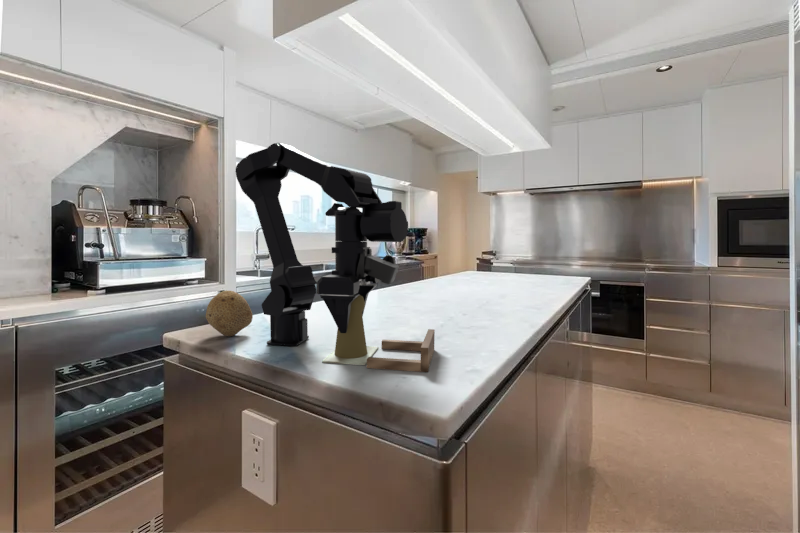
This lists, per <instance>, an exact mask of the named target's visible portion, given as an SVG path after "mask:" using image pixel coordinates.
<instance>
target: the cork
mask: <svg viewBox="0 0 800 533" xmlns="http://www.w3.org/2000/svg"><path fill="white" fill-rule="evenodd" d="M364 307H365V308H366V305H365V301H364V298H363V296H361V295H359V296H358V297H357V298H356V299H355V300H354V301H353V302H352V303H351V309H350V316H349V323H348V329H347V333H340V331H339V329H338V328H337V331H336V332H337V333H336V341H335V349H334V350H335V356H337V357H339V358H347V359H351V358H359V357H363V356H365V355H366V354H367V347H366V346H367V342H366V334H365V327H364V326H365V325H364V318H363V317H362V311H363V310H364V311H365V309H364Z"/></svg>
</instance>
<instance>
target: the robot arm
mask: <svg viewBox="0 0 800 533" xmlns="http://www.w3.org/2000/svg"><path fill="white" fill-rule="evenodd" d="M290 171H292V172H294V173H296V174H298V175H300V176H301V177H304V178H306V179H308V180H310V181H312V182H314V183H315V184H317V185H318V186H320V187H321V190H322V191H323V192H324V193H325V194H326V195H328V196H329V197H330V198H331V199H332V200H334V201H335V202H334V203H333V204H332V206H331V207H330V208H328V209H327V211H326V212H325V216H327V217H334V224H335V228H334V229H335V230H334V231H335V233H334V234H335V243H334V245H335V246H333V247H331V254H334V255H335V264H334V265H335V269H333V270H331V274H327V275H323V276H321V277H320V278H319V279H318V280H317V281H316V279H315V277H314V273H313V269H312V267H311V265H303V264H302V263H301V262H300V261H299V259H298V256H297V254H296V250H295V247H294V245H293V241H292V237H291V234H290V231H289V228H288V225H287V222H286V219H285V215H284V212H283V209H282V206H281V202H280V198H279V195H280V191H281V190H282V180H284V179H285V178H287V177H288V174H289V173H290ZM234 172H235V177H236V179H237V182H238V184H239V186H240V189H241V192H243V193H244V194H245V196H247V198H249V200H251V202H253V204H254V206H255V211H256V213H257V217H258V221H259V223H260V226H261V230H262V234H263V237H264V240H265V243H266V247H267V250H268V251H267V252H268V253H269V257H270V260H271V264H272V267H273V268H272V272H271V276H270V279H269V286H270V292H269V293H268V295H267V296H266V298H265V299H264V300H263V302H261V308H262V312H263V315H267V316H269V322H270V323H269V325H270V339H269V340H267V341H266V345H272V346H273V345H274V346H286V347H287V346H288V347H291V346H292V347H296V346H299V345H300V344H302V343H304V342H305V341H306V340H308V339H309V338H310V337H309V335H308V334H309V332H308V318H306V311H311V310H312V309H311V308H312V305H313V302H314V298H315V296H316V294H317V295H319V296H320V299H322V300H323V302H324V303H325V305H326V307H327V309H328V310H329V313H330V315H331V317H332V319H333V321H334V323H335V324H336V328H337V330H338V329H339V331H340V333H347V329H348V323H349V316H350V309H351V303H352V302H353V301H354V300H355V299H356V298H357V297H358V296H359V295H361V296H363V298H364V301H365V307H364V310H363V311H362V318H363V317H364V314H365V309H366V305H367V301H368V296H369V294H370V292H372V291H373V290H374V289H375V288H377V286H378V284H377V283H379V281H380V282H381V283H384V284H385V285H390V284H392V283H394V281H395V279H396V276H397V275H398V274H397V273H399V268H400V265H399V264H398V263H397V262H396V261H397V260H396V257H395V256H393V255H390V254H387V255H385V256H384V257H383V258H382V257H378V256H374V255H372V254H373V253H372V248H371V247H370V246H368V242H373V243H374V242H375V243H376V242H377V243H402V242H403V241H404V240H405V239H406V238H407V234H408V231H409V222H408V221H407V220H408V219H407V215H406V213H405V211H404V210H403V209H402V205H403V204H402V202H401V201H398V200H390V201H385V202H382V200H381V198H380V196H379V195H378V194H377V192H376V191H375V189H374V187H373V182H372V178H371V177H370V176H369V175H368V174H367V173H363V172H359V171H355V170H351V169H347V168H342V167H338V166H333V165H330V164H328V163H326V162H324V161H322V160H320V159H318V158H315V157H313V156H312V155H309V154H308V153H305V152H302V151H301V150H298V149H297V148H296V147H294V146H292V145H288V144H285V143H281V142H276V143H272V144H270V145H269V146H268V147H266V148H264V149H261V150H258V151H255V152H252V153H249V154H248V155H246V157H244V158H242V159H241V160H240V161H239V162H238V163H237V165H236V166H235V171H234ZM342 203H343V204H345V205H346V206H344V205H343V204H342ZM360 209H361V210H362V211H361V210H360Z"/></svg>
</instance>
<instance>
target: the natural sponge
mask: <svg viewBox="0 0 800 533" xmlns="http://www.w3.org/2000/svg"><path fill="white" fill-rule="evenodd" d="M205 311H206V312H205V319H206V321H207V322H208V324H209V325H210V326H211V328H213V329H215V330H216V331H217V332H218V333H219V334H221V335H222V336H225V337H234V336H236V335H238V333H239V332H240V331H242V330H243V329H245V328H246V327H249V326H250V325H251V323H252V321H253V316H254V315H253V312H252V309H251V307H250V305H249V303H248V302H247V300H246V299H245V297H244V296H242V295H241V294H239V293H238V292H236V291H234V290H223V291H221V292H219V293H217V294H216V295H214V296H213V298H211V299H210V301H209V302H208V304H207V306H206V310H205Z"/></svg>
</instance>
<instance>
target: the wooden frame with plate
mask: <svg viewBox="0 0 800 533" xmlns="http://www.w3.org/2000/svg"><path fill="white" fill-rule="evenodd" d="M435 332H436V330H435V329H433V328H432V329H431V328H429V329H427V332H426V334H425V336H424V339H423V341H416V340H398V339H381V350H382V349H383V350H384V349H385V350H386V349H387V350H398V351H399V350H401V351H418V352H420V359H405V358H391V357H373V355H374V354H376V352H377V351H378V349H379V347H378V346H367V345H366V347H367V354H366V355H365V356H363V357H359V358H351V359H347V358H339V357H337V356H335V349H334V350H333V351H332V352H330V354H328V355H327V356H326V357H324V359H322V361H321V363H322V364H337V365H338V364H340V365H354V366H355V365H356V366H365V365H366V369H375V370H376V369H377V370H390V371H392V370H393V371H402V372H417V373H418V372H421V373H429V370H430V367H431V366H430V365H431V363H432V359H433V356H434V354H435V353H434V352H435Z"/></svg>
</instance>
